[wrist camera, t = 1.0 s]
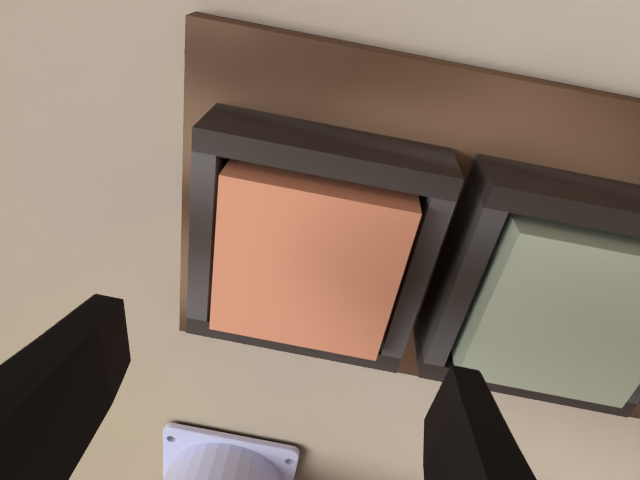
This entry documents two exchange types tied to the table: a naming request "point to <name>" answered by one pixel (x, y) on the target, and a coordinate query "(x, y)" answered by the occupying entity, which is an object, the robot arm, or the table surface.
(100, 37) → the table surface
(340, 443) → the table surface
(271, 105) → the key board
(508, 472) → the robot arm
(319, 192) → the terracotta key
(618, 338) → the sage key
